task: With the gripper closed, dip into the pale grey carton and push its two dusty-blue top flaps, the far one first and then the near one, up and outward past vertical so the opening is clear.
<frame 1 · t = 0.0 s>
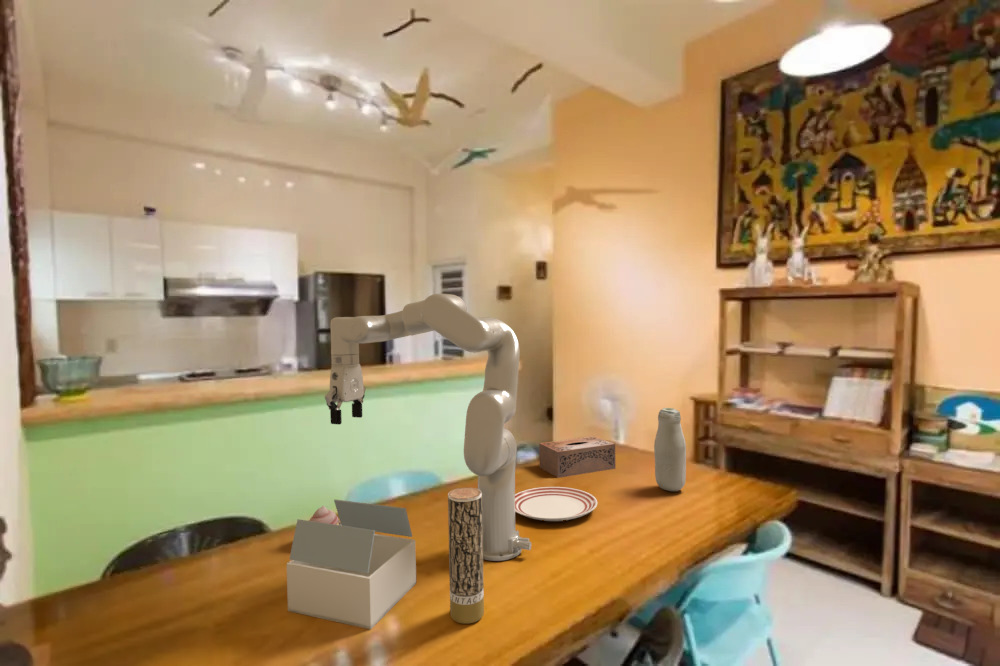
hand: (347, 420, 146), 31 cm above the table, tool pointing down, fingers open, 9 cm apart
flap far: (372, 517, 118), point 14 cm above the table, hinge at 70.0°
tissue box cover: (577, 469, 202), on the table
paper tube: (467, 616, 104), on the table
dinner plate: (552, 511, 159), on the table
flap near: (331, 545, 104), point 14 cm above the table, hinge at 70.0°
cupcake: (324, 543, 138), on the table
carton: (355, 596, 111), on the table
glass bottle: (670, 490, 175), on the table
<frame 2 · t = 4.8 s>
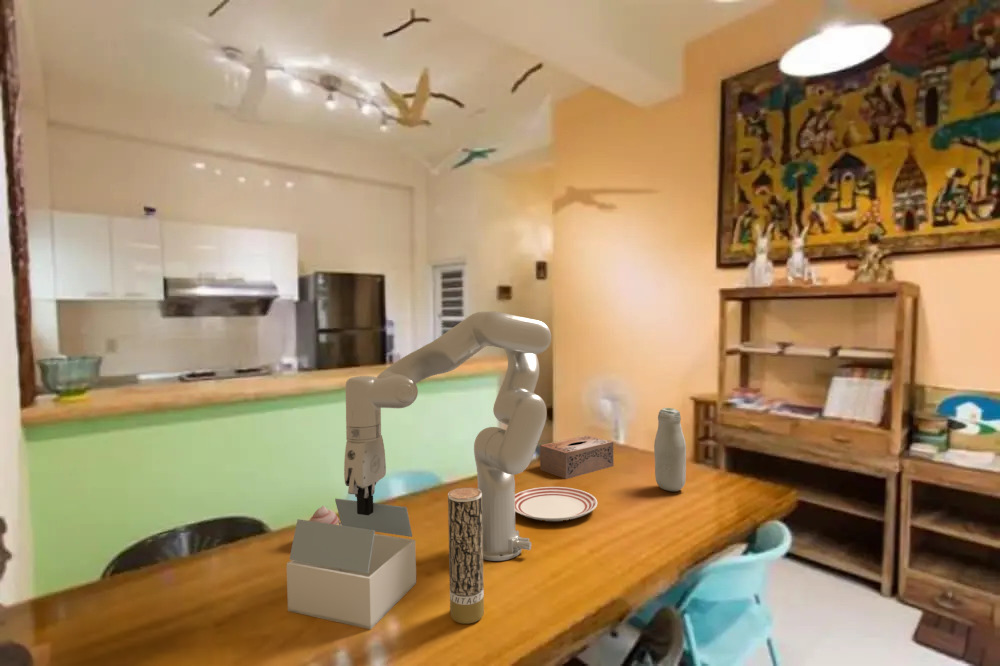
hand: (365, 513, 115), 17 cm above the table, tool pointing down, fingers closed
flap far: (373, 517, 118), point 15 cm above the table, hinge at 72.7°, touching gripper
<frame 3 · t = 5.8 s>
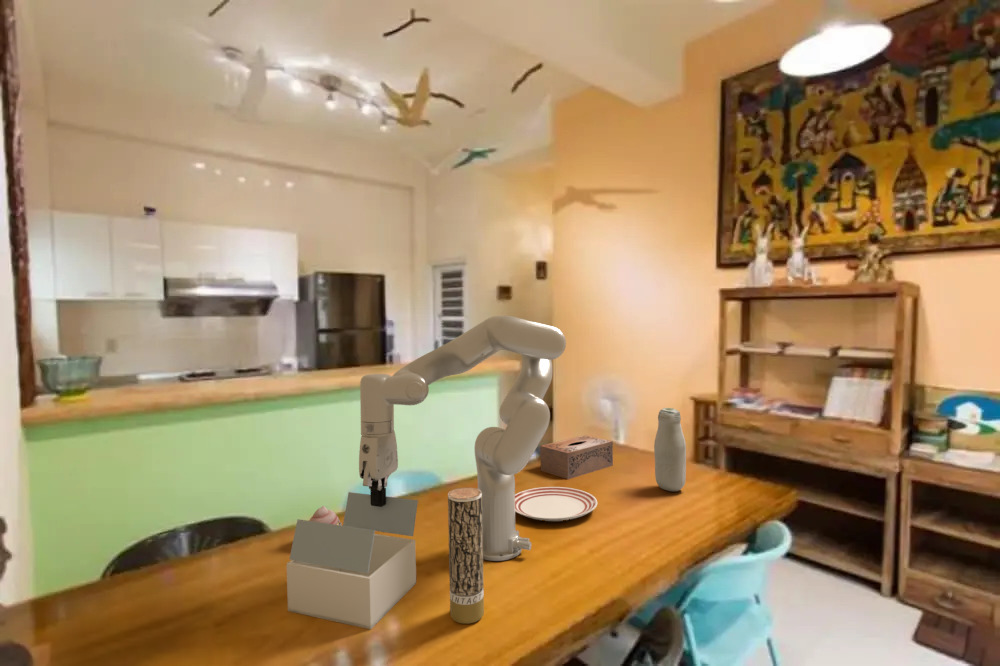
hand: (378, 504, 120), 17 cm above the table, tool pointing down, fingers closed
flap far: (379, 513, 121), point 14 cm above the table, hinge at 109.5°, touching gripper
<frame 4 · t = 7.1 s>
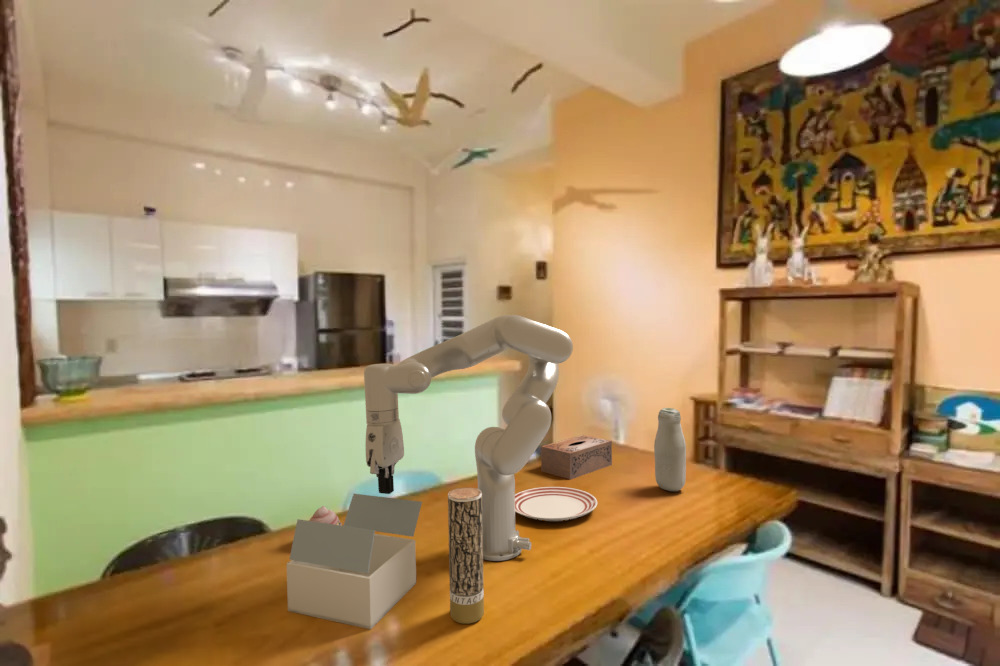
hand: (386, 492, 122), 19 cm above the table, tool pointing down, fingers closed
flap far: (382, 514, 122), point 14 cm above the table, hinge at 124.7°
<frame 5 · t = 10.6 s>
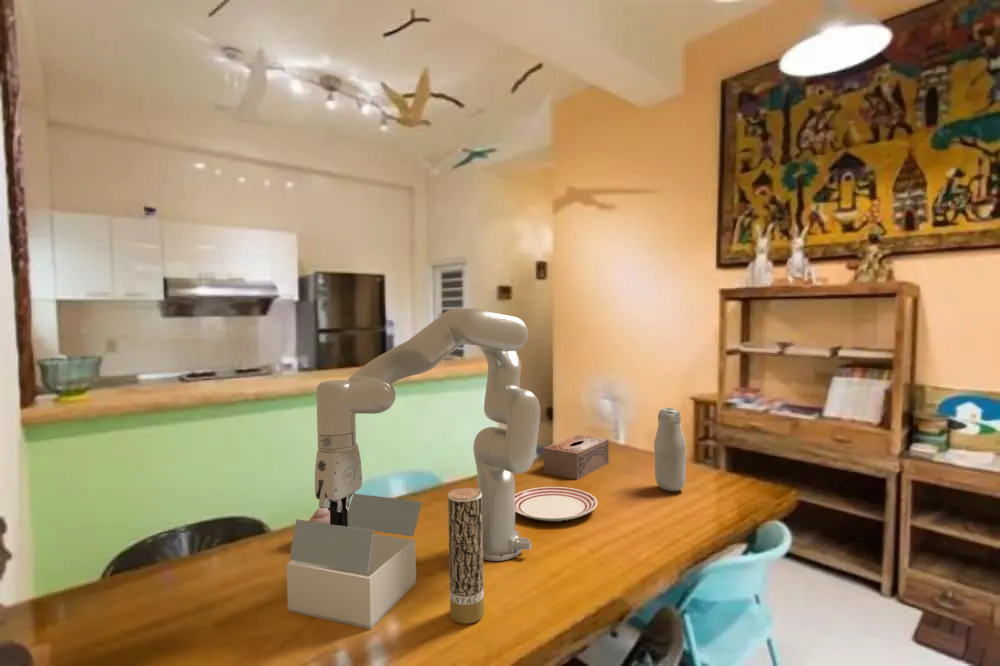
hand: (339, 528, 106), 17 cm above the table, tool pointing down, fingers closed
flap near: (330, 545, 104), point 15 cm above the table, hinge at 72.4°, touching gripper
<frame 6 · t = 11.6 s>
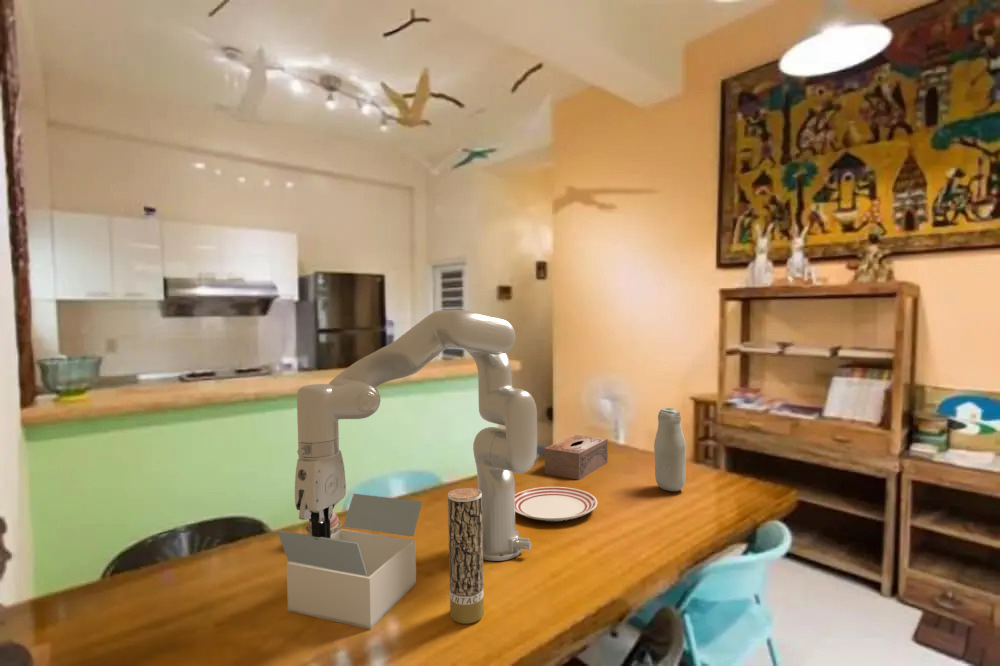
hand: (321, 540, 101), 17 cm above the table, tool pointing down, fingers closed
flap near: (321, 552, 101), point 14 cm above the table, hinge at 110.3°, touching gripper
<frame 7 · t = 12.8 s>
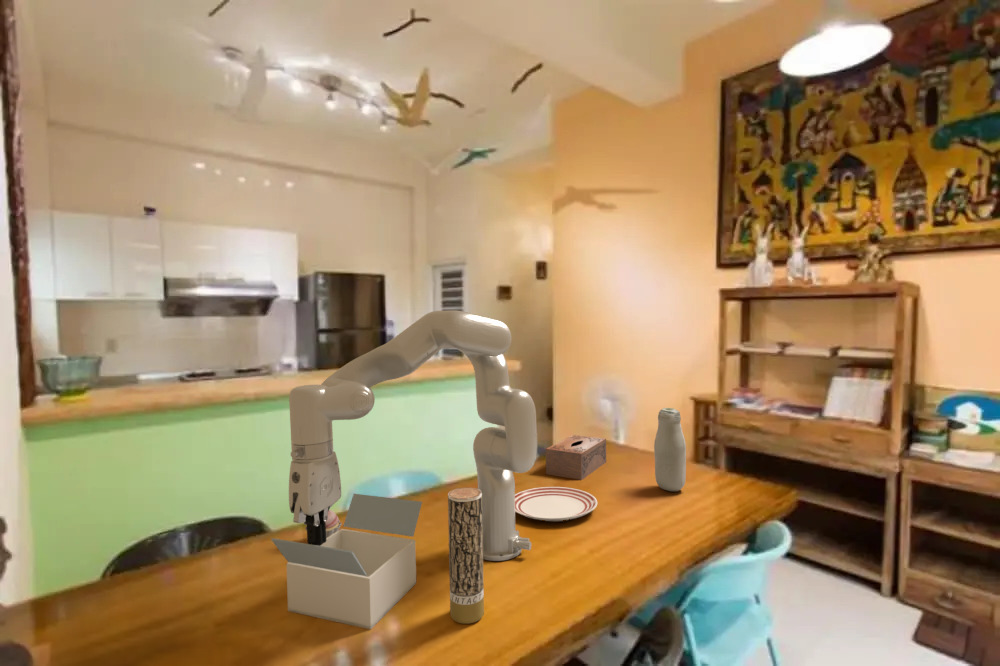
hand: (317, 542, 100), 17 cm above the table, tool pointing down, fingers closed
flap near: (318, 556, 100), point 14 cm above the table, hinge at 123.7°
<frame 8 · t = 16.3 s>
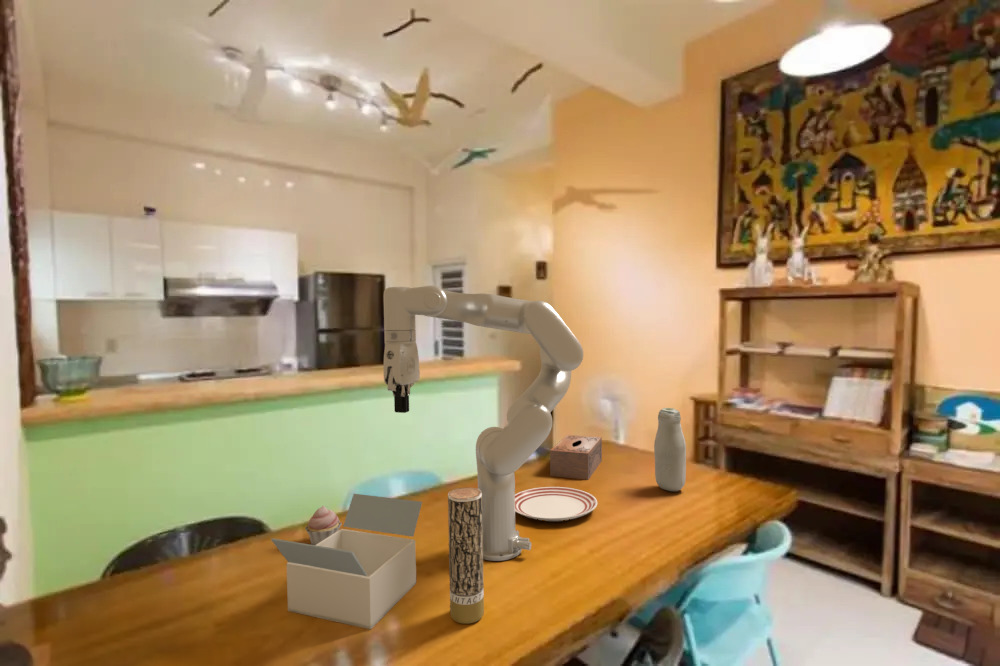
hand: (401, 411, 126), 37 cm above the table, tool pointing down, fingers closed
at the end: flap far at +125° (first picture: +70°); flap near at +124° (first picture: +70°) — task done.
